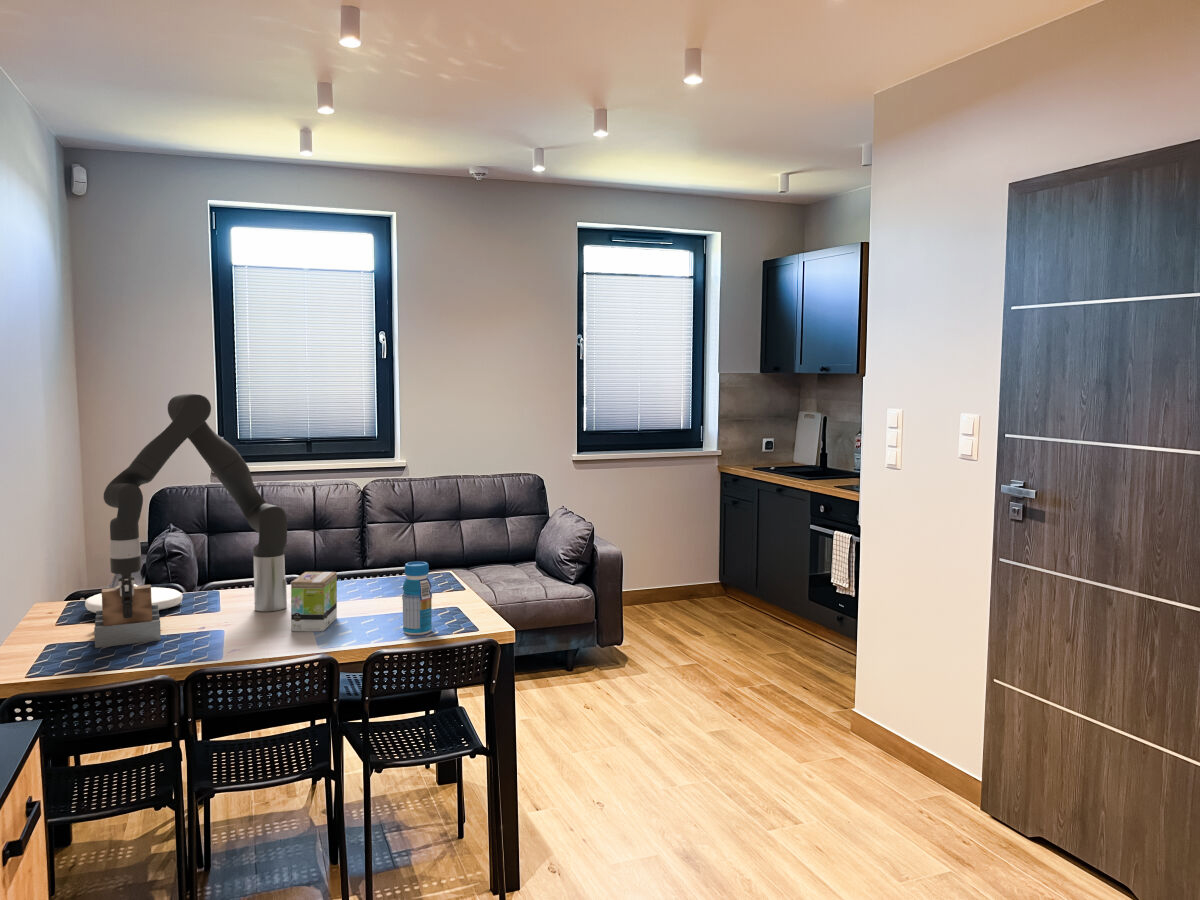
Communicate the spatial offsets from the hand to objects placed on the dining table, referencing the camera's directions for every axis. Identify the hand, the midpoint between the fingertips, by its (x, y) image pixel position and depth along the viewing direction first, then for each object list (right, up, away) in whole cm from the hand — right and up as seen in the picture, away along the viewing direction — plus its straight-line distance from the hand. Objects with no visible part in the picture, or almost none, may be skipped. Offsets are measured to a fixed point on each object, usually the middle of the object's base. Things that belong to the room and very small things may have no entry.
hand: (127, 615), depth 249 cm
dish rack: (-3, -7, +6) cm, 10 cm away
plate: (-16, -5, +34) cm, 38 cm away
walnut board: (0, -4, 0) cm, 4 cm away
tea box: (+46, -6, +17) cm, 50 cm away
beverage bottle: (+78, -7, +11) cm, 79 cm away
